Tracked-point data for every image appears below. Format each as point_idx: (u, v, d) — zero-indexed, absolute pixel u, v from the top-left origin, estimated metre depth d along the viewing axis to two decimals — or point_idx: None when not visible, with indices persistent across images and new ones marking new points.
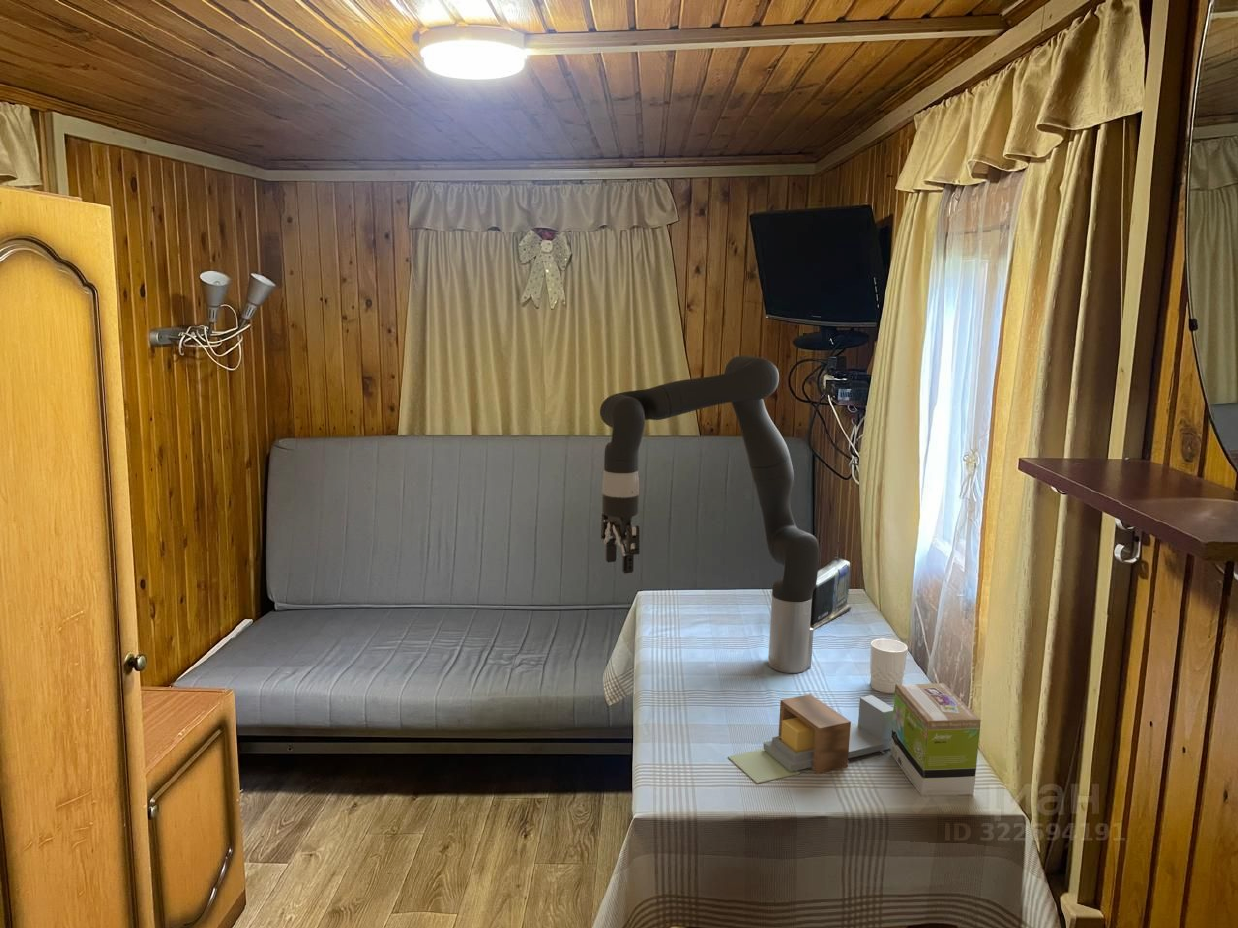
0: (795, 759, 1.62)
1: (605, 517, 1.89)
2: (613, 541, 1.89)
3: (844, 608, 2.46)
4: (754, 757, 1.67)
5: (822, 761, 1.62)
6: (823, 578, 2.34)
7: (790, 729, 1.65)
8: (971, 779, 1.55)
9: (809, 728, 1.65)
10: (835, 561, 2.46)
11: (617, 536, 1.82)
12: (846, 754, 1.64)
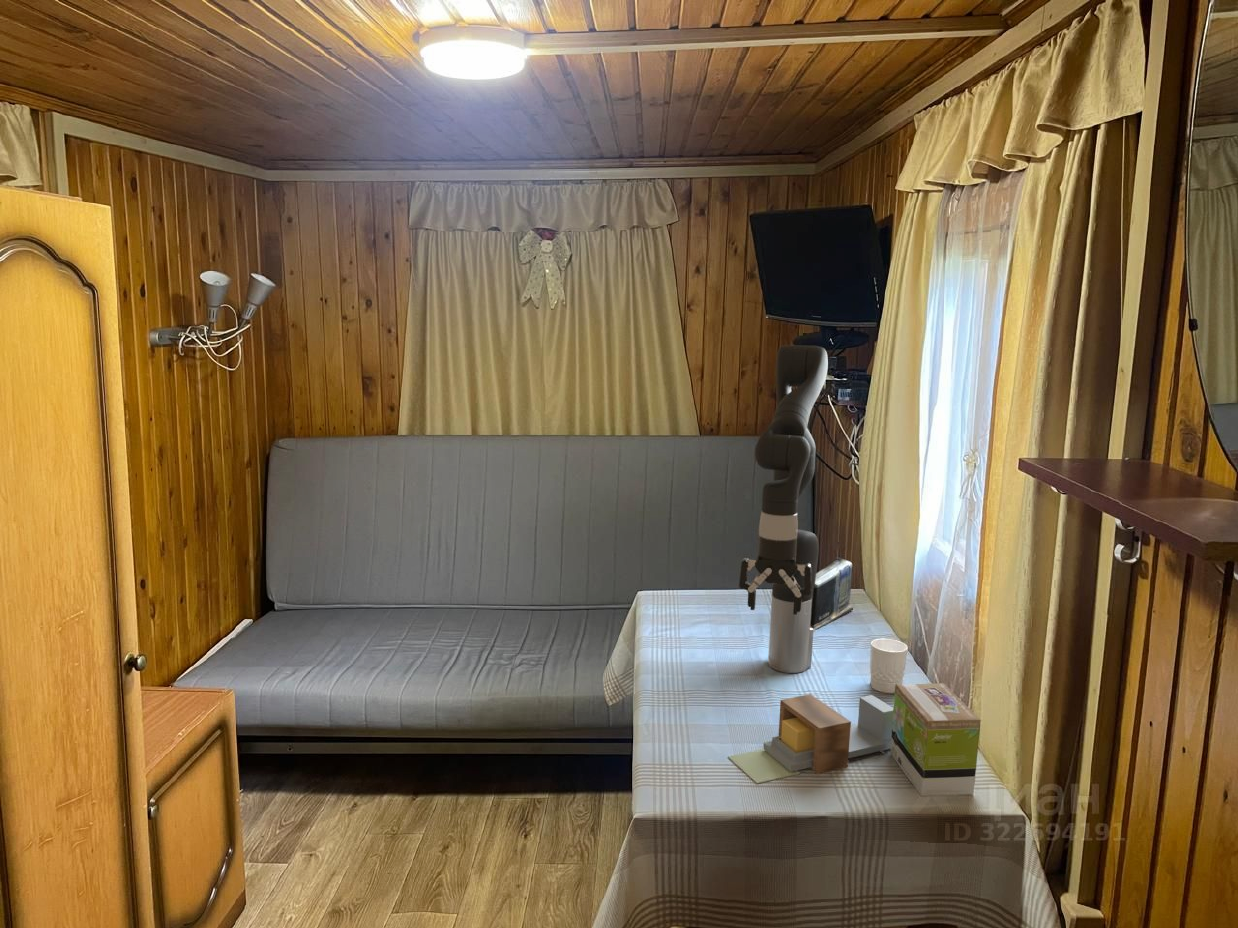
0: (795, 759, 1.62)
1: (747, 564, 1.79)
2: None
3: (846, 609, 2.45)
4: (754, 757, 1.67)
5: (822, 761, 1.62)
6: (823, 578, 2.34)
7: (790, 729, 1.65)
8: (971, 779, 1.55)
9: (809, 728, 1.65)
10: (837, 561, 2.45)
11: (787, 579, 1.76)
12: (846, 754, 1.64)
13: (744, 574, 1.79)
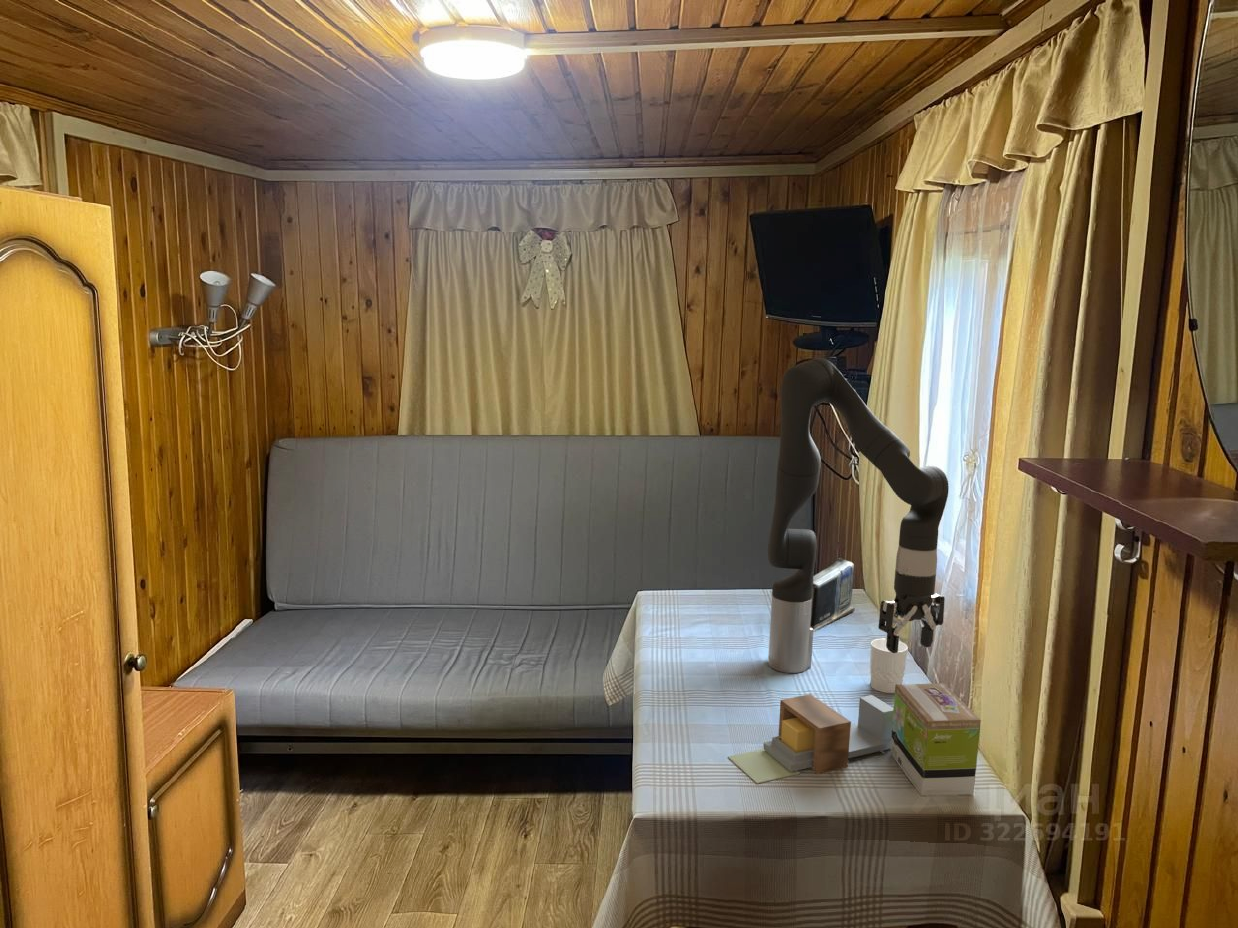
0: (795, 759, 1.62)
1: None
2: None
3: (847, 610, 2.44)
4: (754, 757, 1.67)
5: (822, 761, 1.62)
6: (824, 579, 2.34)
7: (790, 729, 1.65)
8: (971, 779, 1.55)
9: (809, 728, 1.65)
10: (838, 562, 2.45)
11: (928, 613, 1.72)
12: (846, 754, 1.64)
13: (891, 618, 1.69)
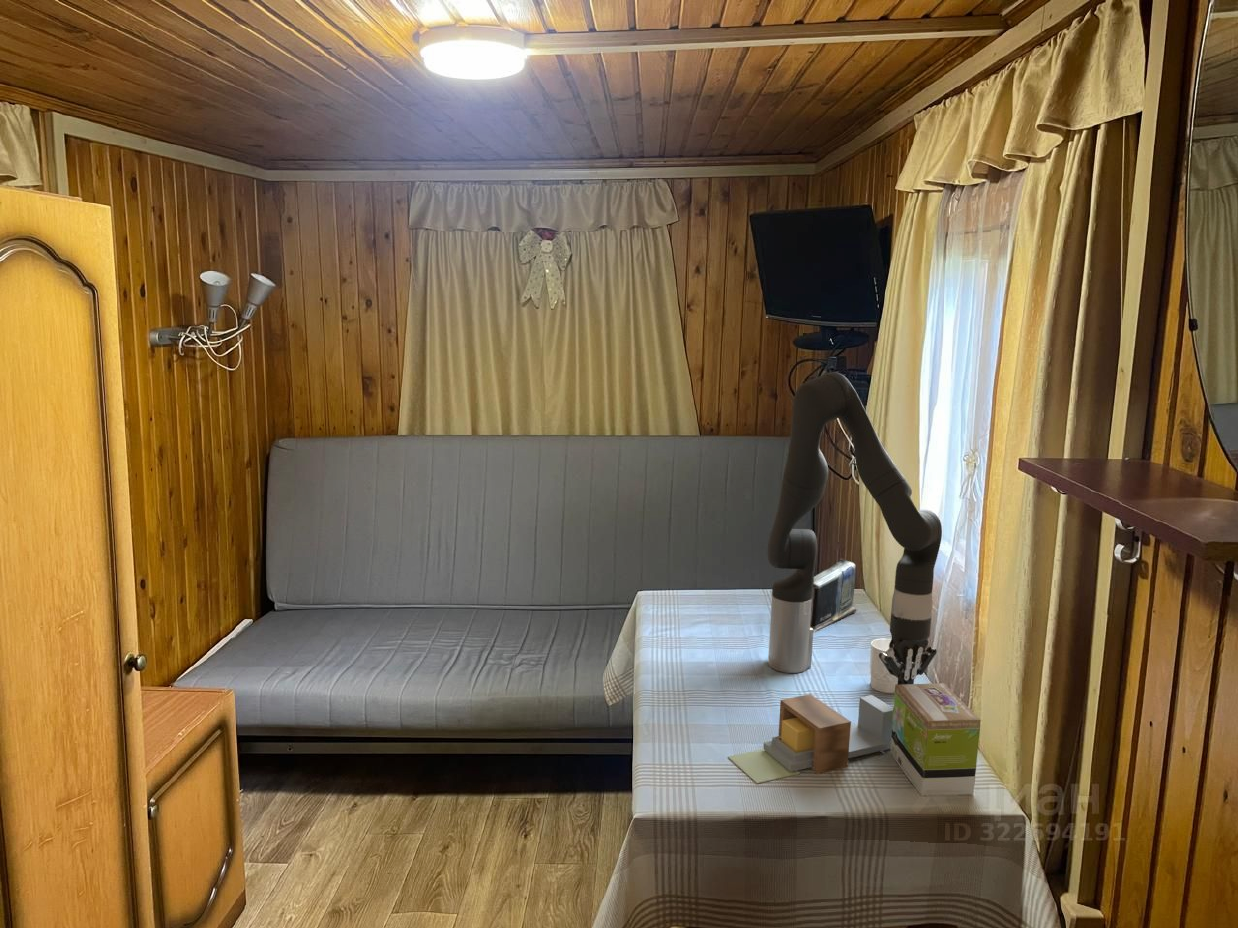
0: (795, 759, 1.62)
1: None
2: None
3: (849, 610, 2.44)
4: (754, 757, 1.67)
5: (822, 761, 1.62)
6: (825, 579, 2.33)
7: (790, 729, 1.65)
8: (971, 779, 1.55)
9: (809, 728, 1.65)
10: (840, 563, 2.44)
11: (918, 659, 1.73)
12: (846, 754, 1.64)
13: (895, 666, 1.72)
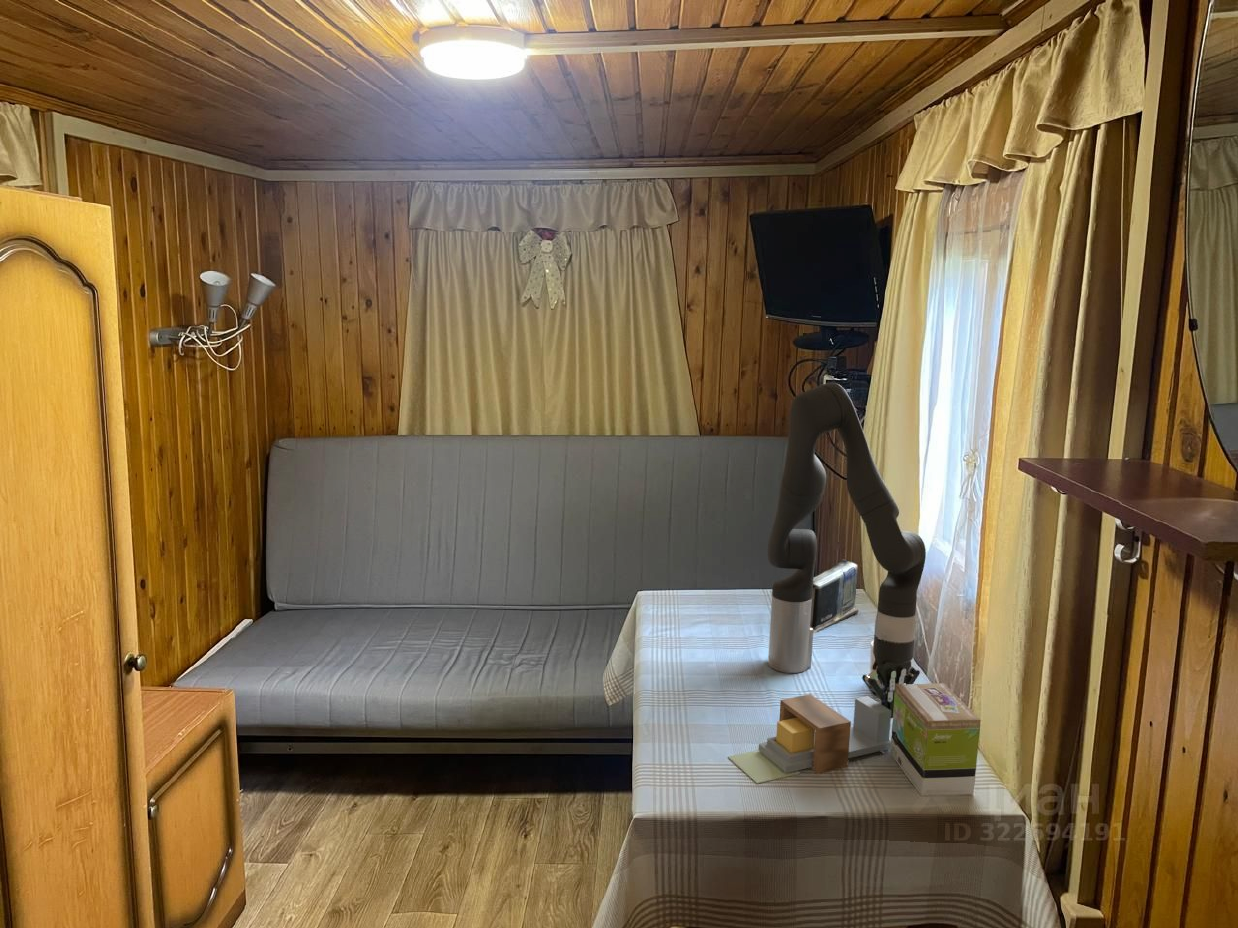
0: (790, 761, 1.62)
1: None
2: None
3: (851, 611, 2.43)
4: (754, 757, 1.67)
5: (822, 761, 1.62)
6: (826, 580, 2.33)
7: (785, 730, 1.64)
8: (971, 779, 1.55)
9: (804, 729, 1.64)
10: (842, 563, 2.44)
11: (901, 680, 1.72)
12: (846, 754, 1.64)
13: (878, 688, 1.71)
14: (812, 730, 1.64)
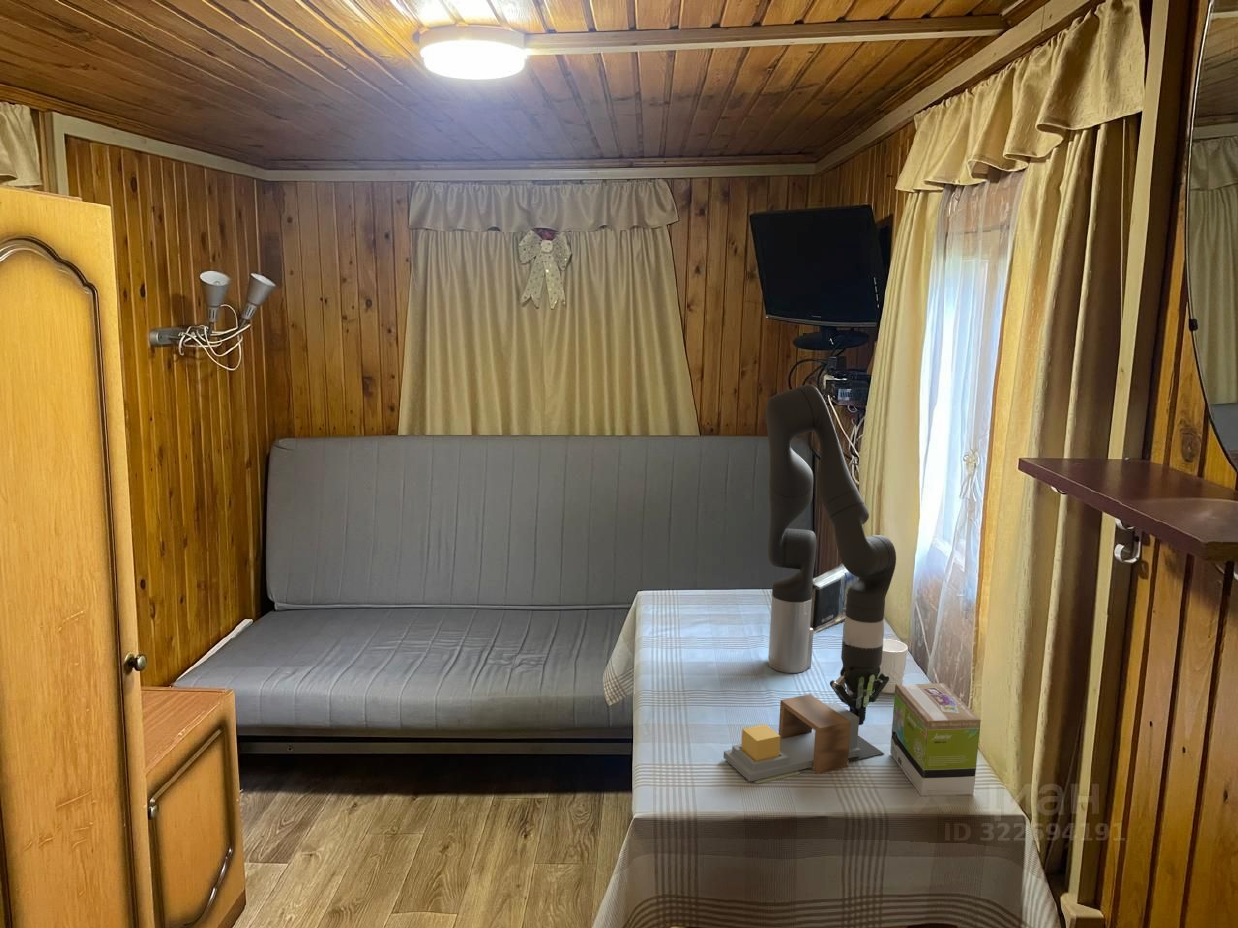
0: (754, 769, 1.59)
1: None
2: None
3: None
4: None
5: (822, 761, 1.62)
6: (827, 581, 2.32)
7: (750, 738, 1.61)
8: (971, 779, 1.55)
9: (769, 736, 1.61)
10: None
11: (870, 686, 1.69)
12: (846, 754, 1.64)
13: (846, 695, 1.68)
14: (777, 737, 1.61)
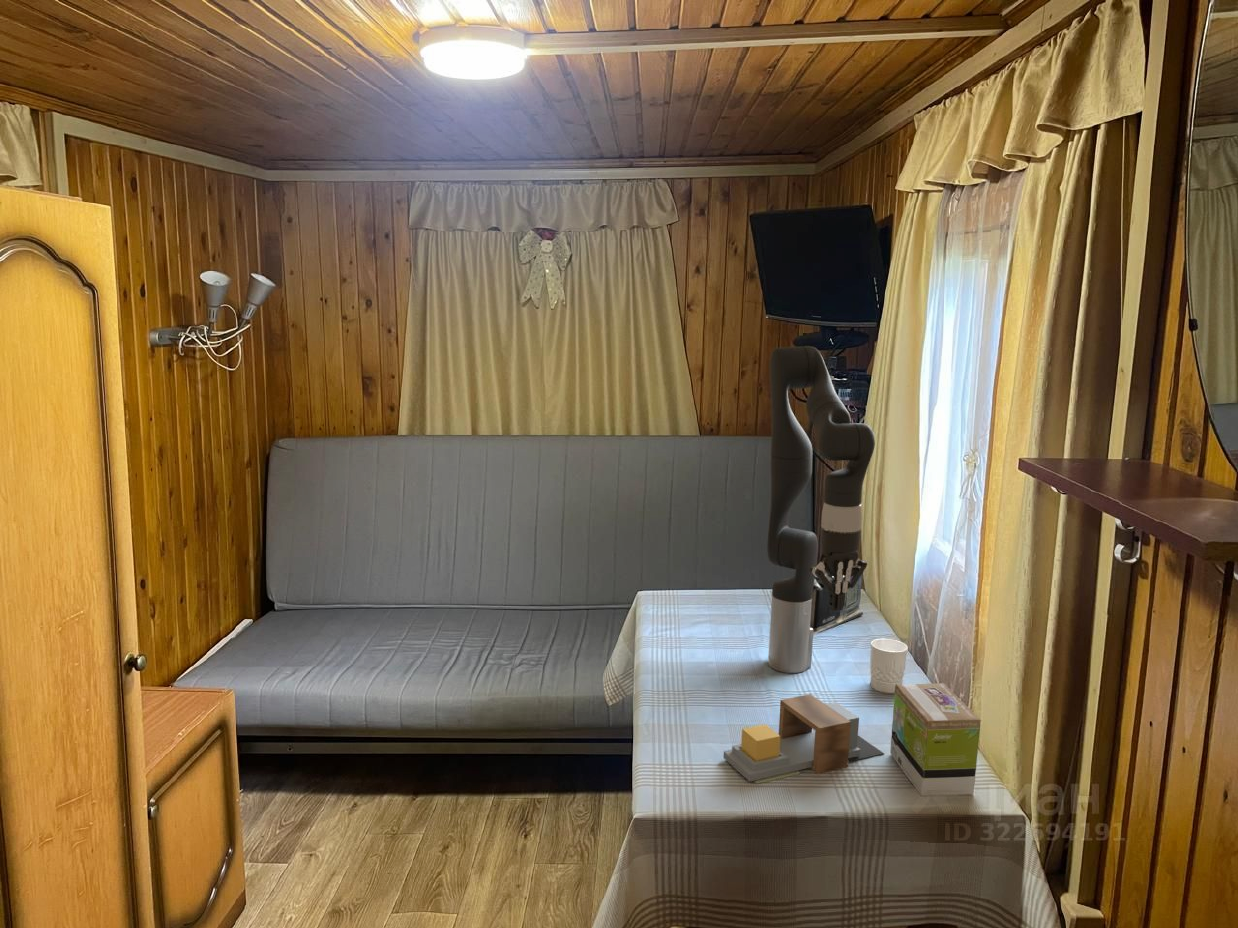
0: (754, 769, 1.59)
1: None
2: None
3: (854, 613, 2.42)
4: None
5: (822, 761, 1.62)
6: None
7: (750, 738, 1.61)
8: (971, 779, 1.55)
9: (769, 736, 1.61)
10: None
11: (849, 572, 1.73)
12: (846, 754, 1.64)
13: (826, 580, 1.71)
14: (777, 737, 1.61)
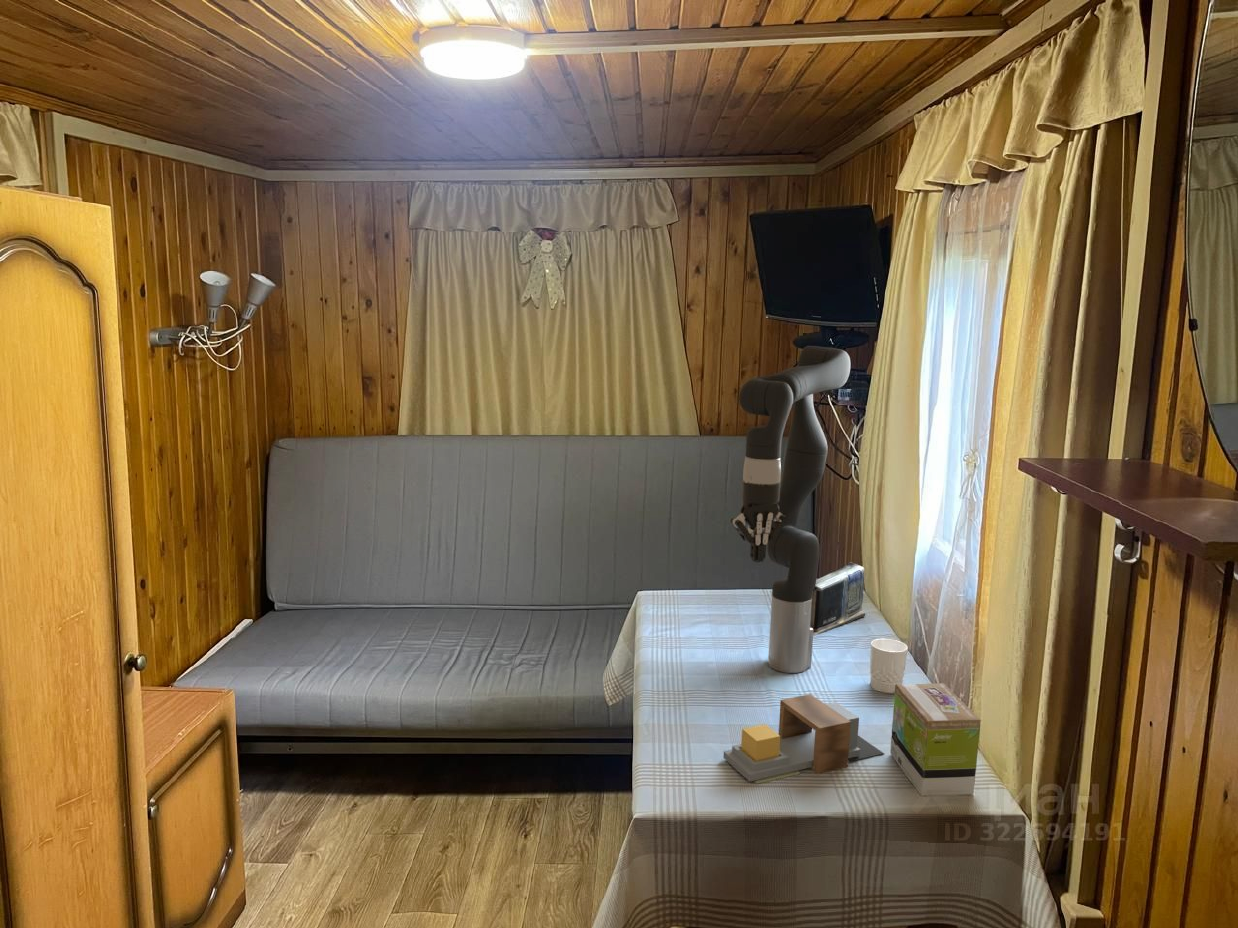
0: (754, 769, 1.59)
1: None
2: None
3: (856, 615, 2.41)
4: None
5: (822, 761, 1.62)
6: (828, 582, 2.31)
7: (750, 738, 1.61)
8: (971, 779, 1.55)
9: (769, 736, 1.61)
10: (848, 566, 2.42)
11: (769, 524, 1.80)
12: (846, 754, 1.64)
13: (745, 530, 1.79)
14: (777, 737, 1.61)
